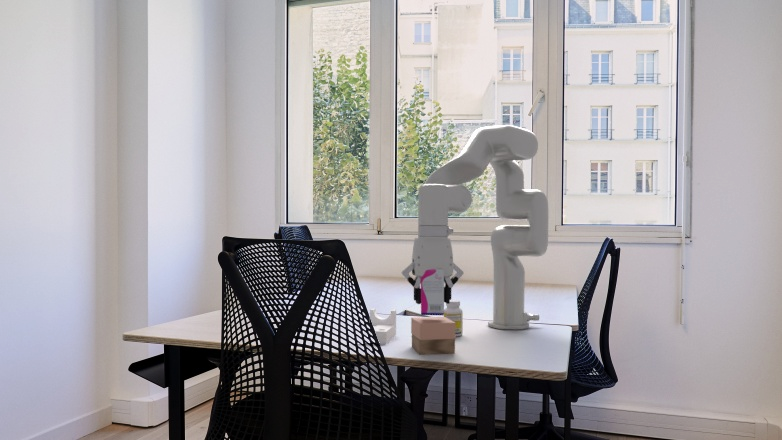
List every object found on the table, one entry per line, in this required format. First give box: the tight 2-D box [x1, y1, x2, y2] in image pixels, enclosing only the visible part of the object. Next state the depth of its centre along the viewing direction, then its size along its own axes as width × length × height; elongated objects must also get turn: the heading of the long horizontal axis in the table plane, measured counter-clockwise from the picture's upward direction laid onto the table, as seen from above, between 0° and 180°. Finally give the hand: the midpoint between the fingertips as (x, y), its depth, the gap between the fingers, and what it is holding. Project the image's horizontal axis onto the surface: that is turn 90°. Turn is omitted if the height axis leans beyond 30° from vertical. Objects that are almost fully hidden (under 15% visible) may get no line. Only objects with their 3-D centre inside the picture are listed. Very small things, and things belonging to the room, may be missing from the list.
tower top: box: [410, 316, 456, 340], centre depth 154 cm, size 9×9×4 cm
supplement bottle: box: [443, 299, 464, 337], centre depth 174 cm, size 5×5×10 cm
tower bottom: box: [411, 333, 456, 355], centre depth 154 cm, size 9×9×4 cm
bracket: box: [369, 308, 397, 345], centre depth 168 cm, size 13×7×8 cm, turn 168°
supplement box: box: [420, 269, 445, 316], centre depth 154 cm, size 6×6×12 cm
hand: (432, 302), depth 154 cm, fingers closed on supplement box, 6 cm apart
